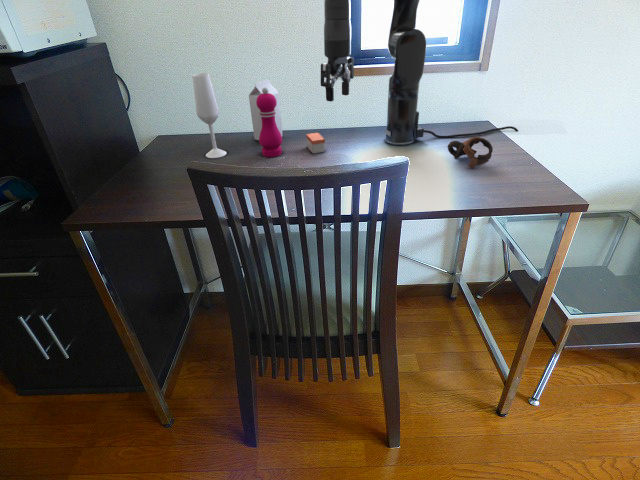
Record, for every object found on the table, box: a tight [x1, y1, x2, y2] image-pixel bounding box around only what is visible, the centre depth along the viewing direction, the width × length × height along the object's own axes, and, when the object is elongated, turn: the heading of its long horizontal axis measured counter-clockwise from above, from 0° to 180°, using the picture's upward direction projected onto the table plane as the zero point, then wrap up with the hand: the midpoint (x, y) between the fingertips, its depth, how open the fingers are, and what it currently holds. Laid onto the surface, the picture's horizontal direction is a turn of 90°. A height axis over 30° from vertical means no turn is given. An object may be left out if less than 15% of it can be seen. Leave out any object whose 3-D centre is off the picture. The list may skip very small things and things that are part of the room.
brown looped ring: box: [447, 136, 494, 169], centre depth 109 cm, size 12×10×8 cm
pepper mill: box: [256, 88, 283, 158], centre depth 117 cm, size 7×7×20 cm
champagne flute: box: [191, 72, 228, 159], centre depth 118 cm, size 7×7×24 cm
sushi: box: [305, 132, 326, 154], centre depth 123 cm, size 4×7×4 cm, turn 18°
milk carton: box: [248, 78, 283, 141], centre depth 130 cm, size 7×7×19 cm
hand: (337, 97), depth 116 cm, fingers open, 8 cm apart
